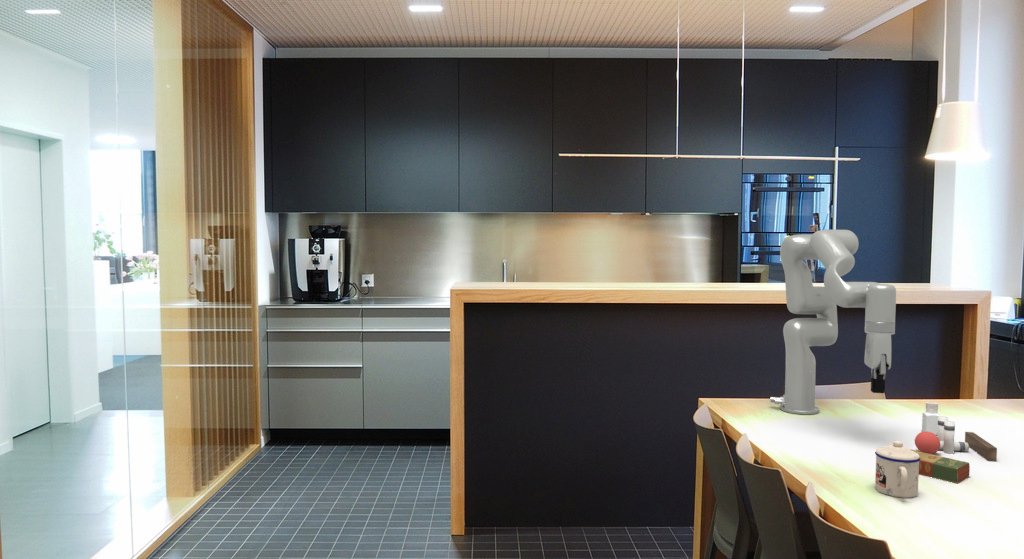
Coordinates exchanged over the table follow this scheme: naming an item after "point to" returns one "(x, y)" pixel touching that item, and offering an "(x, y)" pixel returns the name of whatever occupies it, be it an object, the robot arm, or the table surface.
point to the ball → (927, 442)
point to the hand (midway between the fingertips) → (877, 392)
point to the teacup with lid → (897, 471)
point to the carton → (943, 468)
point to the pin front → (957, 446)
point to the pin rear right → (949, 437)
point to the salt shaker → (930, 418)
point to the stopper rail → (981, 446)
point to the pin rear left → (941, 427)
